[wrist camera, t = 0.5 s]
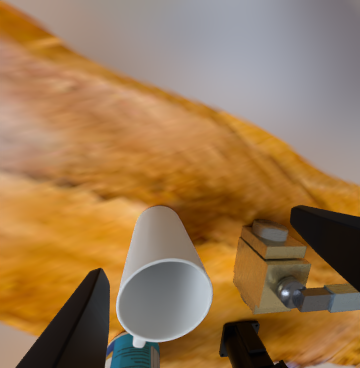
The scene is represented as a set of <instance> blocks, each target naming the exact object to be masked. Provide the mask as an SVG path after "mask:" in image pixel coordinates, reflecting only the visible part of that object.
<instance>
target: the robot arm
mask: <svg viewBox="0 0 360 368" xmlns="http://www.w3.org/2000/svg"><path fill="white" fill-rule="evenodd" d="M290 223H291V225H292V227H293V228H294V229H295V230H296V231H297V232H298V233H299V234H300V235H301V236H302V238H303V239H304V240H305V241H306V242H307V243H308V244H309V245H310V246H311V247H312V248H313V249H314V250H315V252H316V253H317V254H319V255H320V256H321V257H322V258H323V259H324V260H325V261H326V262H327V263H328V264H329V265H330V266H331V267H332V268H333V269H335V270H336V271H337V272H338V273H339V274H340V275H341V276H342V277H343V278H344V279H345V280H346V281H347V282H349V283H350V284H351V285H352V286H353V287H354V288H355V289H356V290H357V291H358V292H359V293H360V217H357V216H352V215H347V214H342V213H337V212H333V211H328V210H323V209H318V208H313V207H308V206H303V205H299V206H295V207H293V208H292V209H291V216H290ZM109 308H110V284H109V280H108V278H107V276H106V274H105V272H104V270H103V269H102V268H98V269H95V270H92V271H90V272H89V273H88V275H87V276H86V277H85V279H84V280H83V281H82V282H81V284H80V285H79V286H78V288H77V289H76V290H75V291H74V293H73V294H72V295H71V297H70V298H69V299H68V300H67V302H66V303H65V304H64V306H63V307H62V308H61V310H60V311H59V312H58V313H57V315H56V316H55V317H54V319H53V320H52V321H51V322H50V324H49V325H48V326H47V328H46V329H45V330H44V331H43V333H42V334H41V335H40V337H39V338H38V339H37V340H36V342H35V343H34V344H33V346H32V347H31V348H30V350H29V351H28V352H27V353H26V355H25V356H24V357H23V359H22V360H21V361H20V363H19V364H18V365H17V366H16V368H105V363H106V354H107V345H108V336H109ZM258 330H259V323H258V321H250V322H240V323H230V324H225V325H224V327H223V333H222V339H221V345H220V351H219V354H220V357H227V356H228V357H229V359H230V362H231V365H232V367H233V368H288V367H287V366H286V364H285V363H284V361H283V360H280V361H279V363H277V364H275V365H274V363H273V362H272V360H271V358H270V356H269V355H268V353H267V351H266V348H265V346H264V345H263V343H262V341H261V340H260V338H259V336H258Z"/></svg>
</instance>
